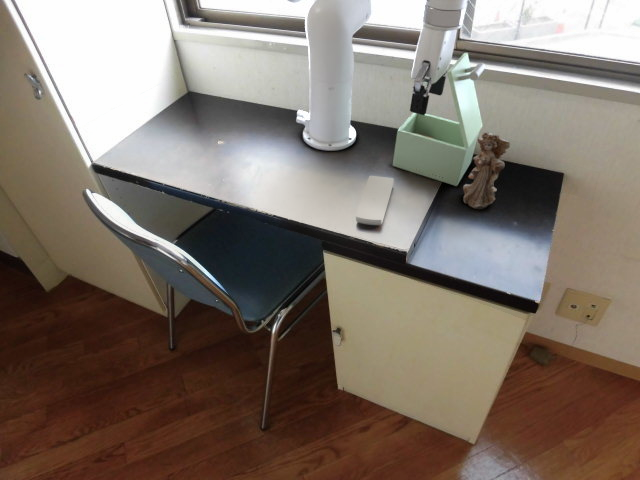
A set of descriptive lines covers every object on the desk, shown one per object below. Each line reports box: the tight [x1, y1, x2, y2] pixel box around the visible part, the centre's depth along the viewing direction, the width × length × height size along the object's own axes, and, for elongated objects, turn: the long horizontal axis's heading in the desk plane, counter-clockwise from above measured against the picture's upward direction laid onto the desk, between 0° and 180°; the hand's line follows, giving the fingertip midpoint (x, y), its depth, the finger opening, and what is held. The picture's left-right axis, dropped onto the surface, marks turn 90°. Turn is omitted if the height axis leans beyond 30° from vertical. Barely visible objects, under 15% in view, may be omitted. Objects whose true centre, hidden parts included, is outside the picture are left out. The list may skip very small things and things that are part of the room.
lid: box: [446, 52, 486, 148], centre depth 91 cm, size 15×10×4 cm
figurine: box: [462, 131, 511, 210], centre depth 91 cm, size 7×6×15 cm
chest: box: [392, 112, 480, 187], centre depth 102 cm, size 15×10×9 cm
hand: (426, 102), depth 97 cm, fingers open, 9 cm apart
